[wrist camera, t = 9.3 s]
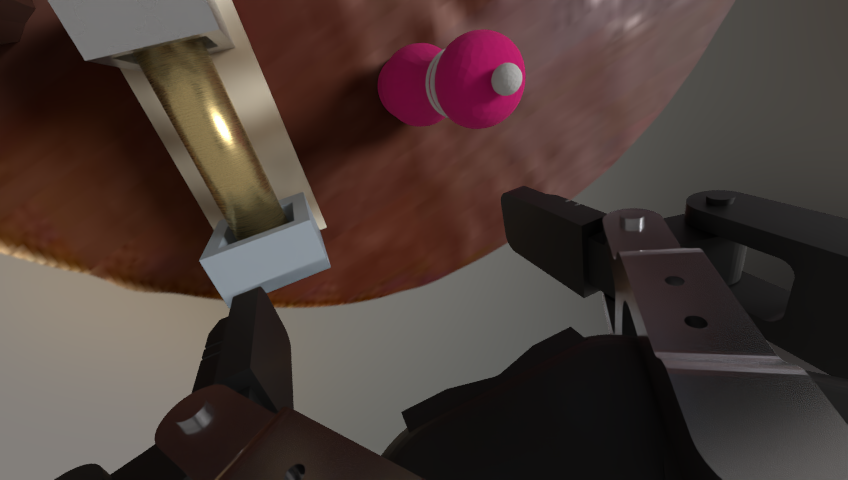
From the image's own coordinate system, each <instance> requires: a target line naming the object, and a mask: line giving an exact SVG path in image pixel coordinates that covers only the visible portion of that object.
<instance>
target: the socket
mask: <svg viewBox="0 0 848 480" xmlns="http://www.w3.org/2000/svg"><path fill="white" fill-rule="evenodd" d="M278 201H279V203H280V205H281V207H282V209H283V212H284V214H285V216H286V218H287V220H288V221H289V222H290V223H287V224H284V225H282V226H279V227H276V228H273V229H271V230H268V231H265V232H262V233H260V234H257V235H254V236H251V237H249V238H246V239H243V240H240V241H238V242H237V240H236V238H235V236H234V234H233V232H232V231H231V229H230V227H229V225H228V223H227V222H226V220H225V219H223V220H221V221H219V222H218V224H217V226H216V228H215V230H214V232H213V234H212V236H211V238H210V240H209V242H208V244H207V246H206V248H205V250H204V252H203V254H202V256H201V258H200V260H199V262H200V263H201V265H202V266H203V268H204V269H205V271H206V273H207V274H208V276H209V277H210V279H211V281H212V282H213V284H214V285H215V287H216V288H217V290H218V292H219V293H220V295H221V296H222V298H223V300H224V301H225V303H226V304H227V306H228V307H229V308H230V307H231V303H232V299H233V297H234V296H236V295H238V294H241V293H244V292H246V291H249V290H252V289H254V288H257V287H259V286H260V287H262V288H263V289H264V291H265V292H266V293H268V292H271V291H273V290H275V289H278V288H280V287H283V286H285V285H288V284H290V283H293V282H295V281H298V280H300V279H303V278H305V277H308V276H310V275H313V274H315V273H318V272H320V271H323V270H325V269H328V268H330V267H331V266H330V263H329V260H328V256H327V253H326V250H325V246H324V243H323V239H322V236H321V233H320V230H319V227H318V225H317V223H316V220H315V218H314V216H313V213H312V211H311V209H310V206H309V204H308V202H307V199H306V197H305V195H304V193H303V192H301V193H298V194H295V195H292V196H289V197H286V198H284V199H281V200H278Z"/></svg>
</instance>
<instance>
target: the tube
mask: <svg viewBox="0 0 848 480" xmlns="http://www.w3.org/2000/svg"><path fill="white" fill-rule="evenodd" d="M133 55H134V56H135V58H136V60H137V62H138V64H139V65H140V67H141V69H142V71H143V73H144V74H145V76H146V78H147V80H148V82H149V83H150V85H151V87H152V89H153V91H154V92H155V94H156V96H157V98H158V100H159V101H160V103H161V105H162V107H163V109H164V110H165V112H166V114H167V116H168V118H169V119H170V121H171V123H172V125H173V126H174V128H175V130H176V132H177V134H178V135H179V137H180V139H181V141H182V143H183V144H184V146H185V148H186V150H187V152H188V153H189V155H190V157H191V159H192V161H193V162H194V164H195V166H196V168H197V170H198V171H199V173H200V175H201V177H202V179H203V180H204V182H205V184H206V186H207V188H208V189H209V191H210V193H211V195H212V197H213V198H214V200H215V202H216V204H217V205H218V207H219V209H220V211H221V213H222V214H223V216H224V218H225V220H226V222H227V223H228V225H229V227H230V229H231V231H232V232H233V234H234V236H235V238H236V240H237V242H238V241H240V240H243V239H246V238H249V237H251V236H254V235H257V234H260V233H262V232H265V231H268V230H271V229H273V228H276V227H279V226H282V225H284V224H287V223H290V222H289V221H288V220H287V218H286V216H285V214H284V212H283V209H282V207H281V205H280V203H279V201H278V199H277V197H276V195H275V192H274V190H273V188H272V186H271V184H270V182H269V180H268V178H267V175H266V173H265V171H264V169H263V167H262V165H261V163H260V161H259V158H258V156H257V154H256V152H255V150H254V148H253V146H252V144H251V141H250V139H249V137H248V135H247V133H246V131H245V129H244V127H243V124H242V122H241V120H240V118H239V116H238V114H237V112H236V110H235V107H234V105H233V103H232V101H231V99H230V97H229V95H228V93H227V90H226V88H225V86H224V84H223V82H222V80H221V78H220V76H219V73H218V71H217V69H216V67H215V65H214V63H213V61H212V59H211V56H210V54H209V52H208V50H207V48H206V46H205V44H204V41H203V39H202V37H198V38H194V39H189V40H185V41H181V42H177V43H173V44H168V45H164V46H160V47H156V48H152V49H147V50H143V51H139V52H135V53H133Z"/></svg>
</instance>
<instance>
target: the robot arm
mask: <svg viewBox="0 0 848 480" xmlns="http://www.w3.org/2000/svg"><path fill="white" fill-rule="evenodd" d="M501 205H502V212H503V219H504V226H505V233H506V238H507V241H508V243H509V245H510V246H511V248H512V249H513V250H514V251H515V252H516V253H518V254H519V255H521V256H522V257H524V258H525V259H527V260H528V261H530V262H531V263H533V264H534V265H536V266H537V267H539V268H540V269H542V270H543V271H545V272H546V273H547V274H549V275H551V276H552V277H553V278H555V279H556V280H558V281H559V282H561V283H562V284H564V285H565V286H567V287H568V288H570V289H571V290H573V291H574V292H576V293H577V294H579V295H580V296H582V297H583V298H585V297H587V296H589V295H591V294H594V293H596V292H598V291H602V292H603V305H604V310H605V314H606V319H607V323H608V327H609V332H610V334H609V335H596V336H589V337H583V336H582V335H580V334H579V333H578V332H577V331H575V330H574V329H573V328H572V327H569V328H567V329H566V330H563V331H561V332H559V333H557V334H555V335H553V336H551V337H549V338H547V339H545V340H543V341H541V342H539V343H537V344H535V345H533V346H532V347H531V348H530V349H529V350H528V351H526V352H525V353H524V354H523V355H522V356H520V357H519V358H518V359H517V360H516V361H515V362H514V363H512V364H511V365H510V366H509V367H508V368H507V369H506V370H504V371H503V372H502V373H501V374H499V375H498V376H495V377H492V378H488V379H484V380H481V381H477V382H473V383H469V384H465V385H461V386H457V387H454V388H449V389H446V390H444V391H442V392H440V393H438V394H436V395H435V396H432V397H430V398H428V399H426V400H424V401H423V402H421V403H418V404H416V405H414V406H413V407H410V408H409V409H407V410H405V411H403V412H402V415H403V418H404V420H405V423H406V426H407V428H406V429H405V430H404V431H403V432H402V433H400V434H399V435H398V436H397V437H396V438H395V439H394V440H393V442H392V443H391V444H390V445H389V446H388V447H387V449H386V450H385V451H384V453H383V454H382V455H381V456H380V455H378V454H376V453H374V452H372V451H371V450H368V449H367V448H364V447H363V446H361V445H359V444H357V443H355V442H354V441H352V440H350V439H348V438H346V437H344V436H342V435H340V434H338V433H337V432H334V431H333V430H331V429H329V428H327V427H325V426H323V425H321V424H320V423H318V422H316V421H314V420H312V419H310V418H308V417H306V416H305V415H303V414H301V413H299V412H297V411H295V410H294V407H293V385H292V364H291V345H290V340H289V337H288V334H287V332H286V329H285V327H284V325H283V323H282V322H281V320H280V318H279V316H278V314H277V312H276V310H275V309H274V307H273V305H272V303H271V301H270V299H269V297H268V296H267V294H266V292H265V291H264V289H263V288H262V287H260V286H259V287H257V288H254V289H252V290H249V291H246V292H244V293H241V294H238V295H236V296H234V297H233V299H232V303H231V307H230V312H229V316H228V317H226V318H223V319H221V320H219V322H218V323H217V324H216V325H215V327H214V328H213V329H212V331H211V332H210V333H209V335H208V338H207V342H206V345H205V348H206V349H205V350H204V352H203V356H202V359H203V360H202V361H201V363H200V366H199V370H198V373H197V376H196V380H195V383H194V387H193V390H192V394H190V395H189V396H187V397H186V398H184V399H183V400H181V401H180V402H179V403H178V404H177V405H175V406H174V407H173V408H172V409H171V410H170V411H169V412H168V413H167V415H166V416H165V417H164V418H163V420H162V421H161V423H160V424H159V426H158V428H157V430H156V433H155V445H153V446H152V447H151V448H149V449H148V450H146V451H145V452H143V453H142V454H140V455H139V456H138V457H136V458H134V459H133V460H131V461H130V462H128V463H127V464H125V465H124V466H123V467H121V468H120V469H118V470H117V471H115V472H114V473H112V474H111V475H110V474H108V473H107V472H106V471H105V470H104V469H103V468H102V467H101V466H99V465H97V464H86V465H82V466H79V467H77V468H74V469H72V470H70V471H68V472H66V473H64V474H63V475H61V476H60V477H58V478H56V479H55V480H848V219H846V218H842V217H838V216H833V215H830V214H826V213H821V212H817V211H813V210H809V209H805V208H801V207H797V206H792V205H789V204H785V203H781V202H776V201H772V200H768V199H764V198H760V197H756V196H752V195H748V194H744V193H739V192H734V191H725V190H716V191H715V190H712V191H704V192H699V193H696V194H693V195H691V196H689V197H688V198H687V200H686V209H685V214H682V215H677V216H673V217H668V218H663V217H662V216H661V215H659V214H658V213H656V212H653V211H650V210H646V209H637V208H635V209H634V208H630V209H621V210H616V211H613V212H610V213H608V214H606V213H604V212H601V211H598V210H595V209H593V208H590V207H587V206H585V205H582V204H580V205H579V204H578V203H576V202H574V201H569V200H568V199H566V198H563V197H560V196H557V195H550V194H544V193H542V192H539V191H536V190H534V189H531V188H528V187H526V186H522V187H519V188H516V189H514V190H511V191H509V192H506V193H503V194H502V197H501ZM747 247H750V248H753V249H755V250H758V251H761V252H764V253H766V254H769V255H772V256H775V257H778V258H780V259H782V260H784V261H786V262H787V263H788V264H789V265H790V266H791V268H792V269H793V271H794V274H795V279H794V282H793V286H792V289H791V291H788V290H785V289H783V288H781V287H779V286H776V285H774V284H772V283H769V282H767V281H765V280H762V279H760V278H757V277H755V276H753V275H750V274H748V273H745V272H743V271H742V269H743V264H744V259H745V254H746V250H747ZM766 340H767V341H769V342H771V343H773V344H774V345H776V346H778V347H780V348H782V349H784V350H786V351H787V352H789V353H791V354H793V355H794V356H796V357H798V358H800V359H802V360H804V361H805V362H807V363H809V364H811V365H813V366H815V367H816V368H818V369H820V370H822V371H824V372H826V373H827V374H829V375H825V374H820V373H815V372H811V371H805V370H803V369H802V368H800V367H799V366H797V365H795V364H791V363H786V362H784V361H783V360H781V359H780V358H779V357H778V356H777V355H776V353H775V352H774V350H773V349H772V348H771V346H770V345H769V343H768V342H767V341H766ZM830 375H831V376H830Z"/></svg>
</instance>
